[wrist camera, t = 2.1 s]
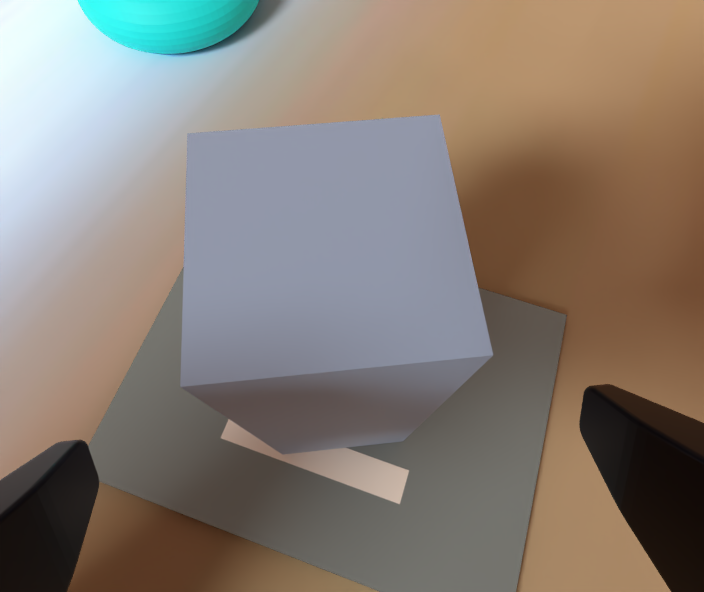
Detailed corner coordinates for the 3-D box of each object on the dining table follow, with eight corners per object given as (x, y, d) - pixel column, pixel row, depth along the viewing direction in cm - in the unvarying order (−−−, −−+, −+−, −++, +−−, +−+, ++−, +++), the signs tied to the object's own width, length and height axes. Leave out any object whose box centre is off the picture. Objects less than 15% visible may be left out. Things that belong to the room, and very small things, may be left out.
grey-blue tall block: (403, 441, 18) (493, 355, 7) (282, 454, 18) (179, 386, 7) (386, 327, 20) (439, 114, 9) (276, 338, 20) (187, 133, 9)
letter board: (503, 638, 16) (507, 641, 16) (80, 472, 18) (74, 471, 18) (562, 318, 21) (567, 314, 20) (217, 210, 22) (215, 205, 22)
